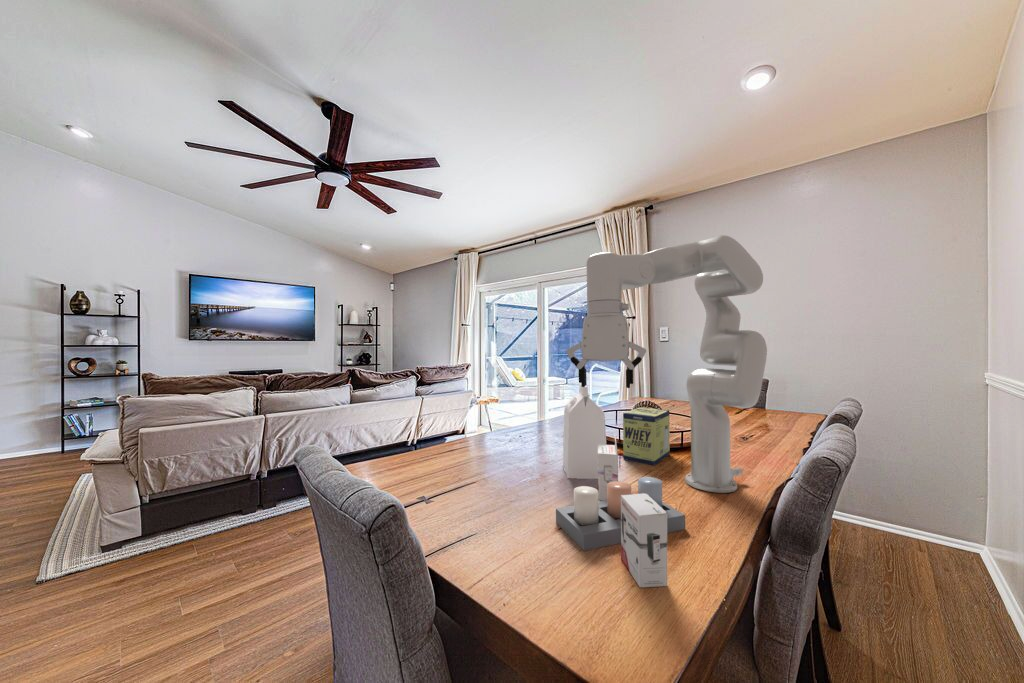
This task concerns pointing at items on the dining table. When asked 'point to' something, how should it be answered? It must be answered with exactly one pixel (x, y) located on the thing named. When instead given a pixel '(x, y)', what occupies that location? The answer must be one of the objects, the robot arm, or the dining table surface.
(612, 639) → the dining table surface
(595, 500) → the button cream
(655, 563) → the ink box
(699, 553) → the dining table surface
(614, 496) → the peach cylinder
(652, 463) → the protein box
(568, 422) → the milk
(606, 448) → the ink cartridge box
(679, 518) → the gray compartment tray
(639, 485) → the button slate
